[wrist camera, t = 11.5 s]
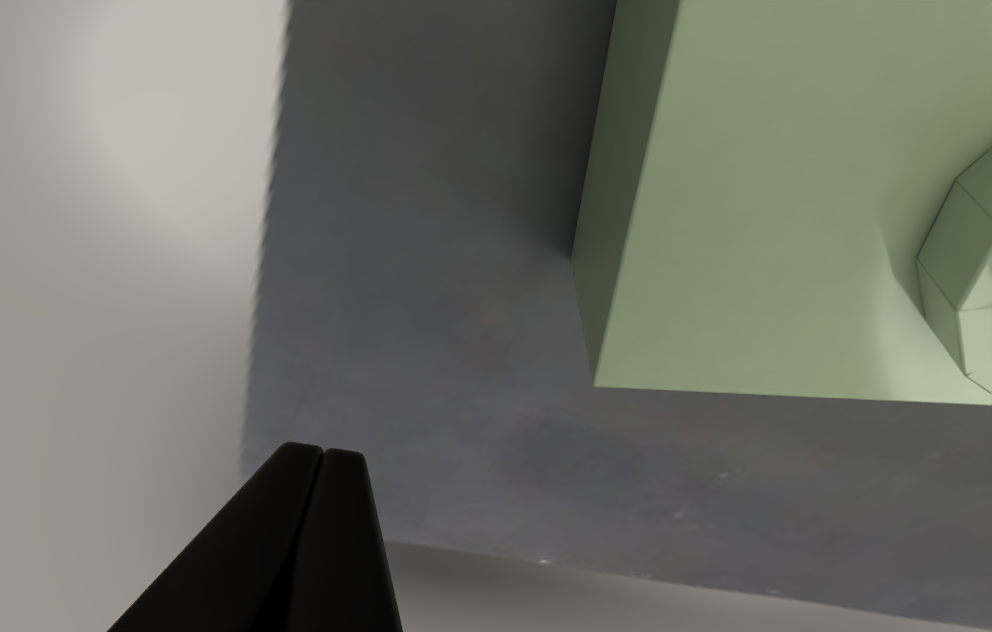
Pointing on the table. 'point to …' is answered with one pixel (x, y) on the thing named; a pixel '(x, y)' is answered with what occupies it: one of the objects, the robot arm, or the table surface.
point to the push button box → (792, 200)
